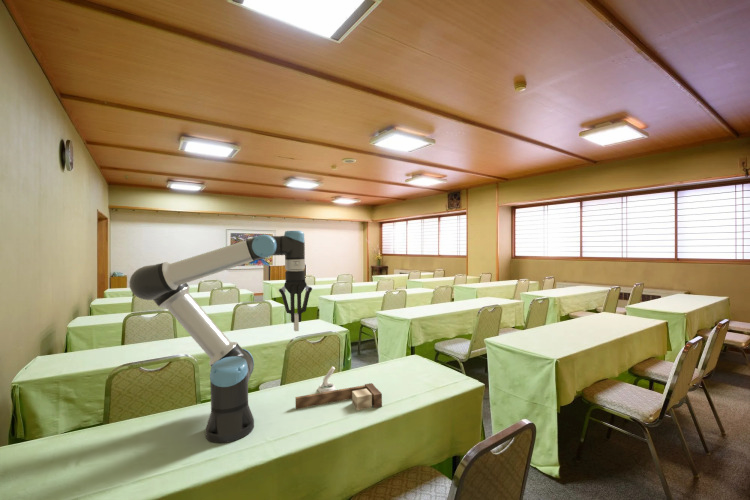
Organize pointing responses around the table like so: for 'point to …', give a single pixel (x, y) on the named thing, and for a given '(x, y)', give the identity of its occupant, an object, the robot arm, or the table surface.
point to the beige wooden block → (361, 399)
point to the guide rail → (338, 396)
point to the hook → (326, 383)
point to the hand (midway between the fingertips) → (296, 330)
